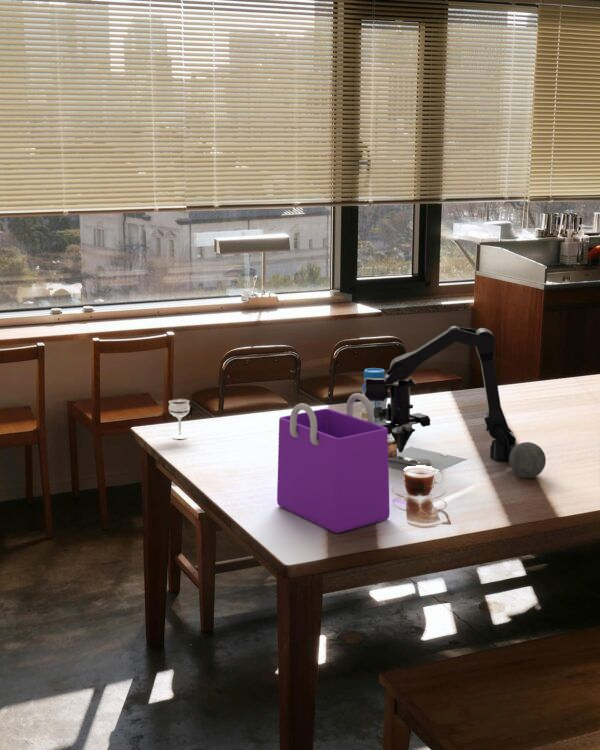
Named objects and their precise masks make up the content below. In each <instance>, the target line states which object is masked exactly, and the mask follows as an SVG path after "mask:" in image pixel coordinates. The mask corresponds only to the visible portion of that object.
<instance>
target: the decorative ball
mask: <svg viewBox="0 0 600 750" xmlns="http://www.w3.org/2000/svg"><path fill="white" fill-rule="evenodd" d="M546 461H547V458H546V454H545V452H544V451H543V449H542V447H541V446H539V445H538V444H536V443H534V442H530V441H526V442H525V441H524V442H520V443H518V444H516V446H515V447H514V448H513V449H512V451H511V453H510V456H509V462H508V463H509V467H510V469H511V470H512V471H513V473H514V474H515V475H516V476H518V477H521V478H524V479H531V478H535V477H537V476H540V475H541V473H542V472H543V471H544V469H545V466H546Z"/></svg>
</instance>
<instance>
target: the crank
mask: <svg viewBox="0 0 600 750" xmlns="http://www.w3.org/2000/svg"><path fill="white" fill-rule="evenodd" d="M397 452H398V449H397V442H395V441H394V440H388V460H390V461H395V462H400V463H405V464H410V466H416V465H426V466H431V461H429V460H427V459H411V458H406V457H401V456H397Z"/></svg>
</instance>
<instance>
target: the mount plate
mask: <svg viewBox="0 0 600 750" xmlns="http://www.w3.org/2000/svg"><path fill="white" fill-rule="evenodd" d="M397 456H401V457H406V458H411V459H427V460H429V461H431V466H432V467H433V468H435V469H438V470H440V471H439V472H441V471H443V470H445V469H448V468H450V467H453V466H455V465H457V464H459V463H461V462H465V461H466V460H467V458H464V457H458V456H454V455H451V454H450V455H449V454H447V453H441V452H437V451H432V450H428V449H422V448H419V447H414V446H409V447H406V448H404V449H403V451H402V452H401V453H400V452H399V451H398V450H397ZM407 466H410V464H405V463H400V462H395V461H390V460H388V467H389V468H390V469H392V470H398V471H402V472H404V471H403V469H404V468H405V467H407Z"/></svg>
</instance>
